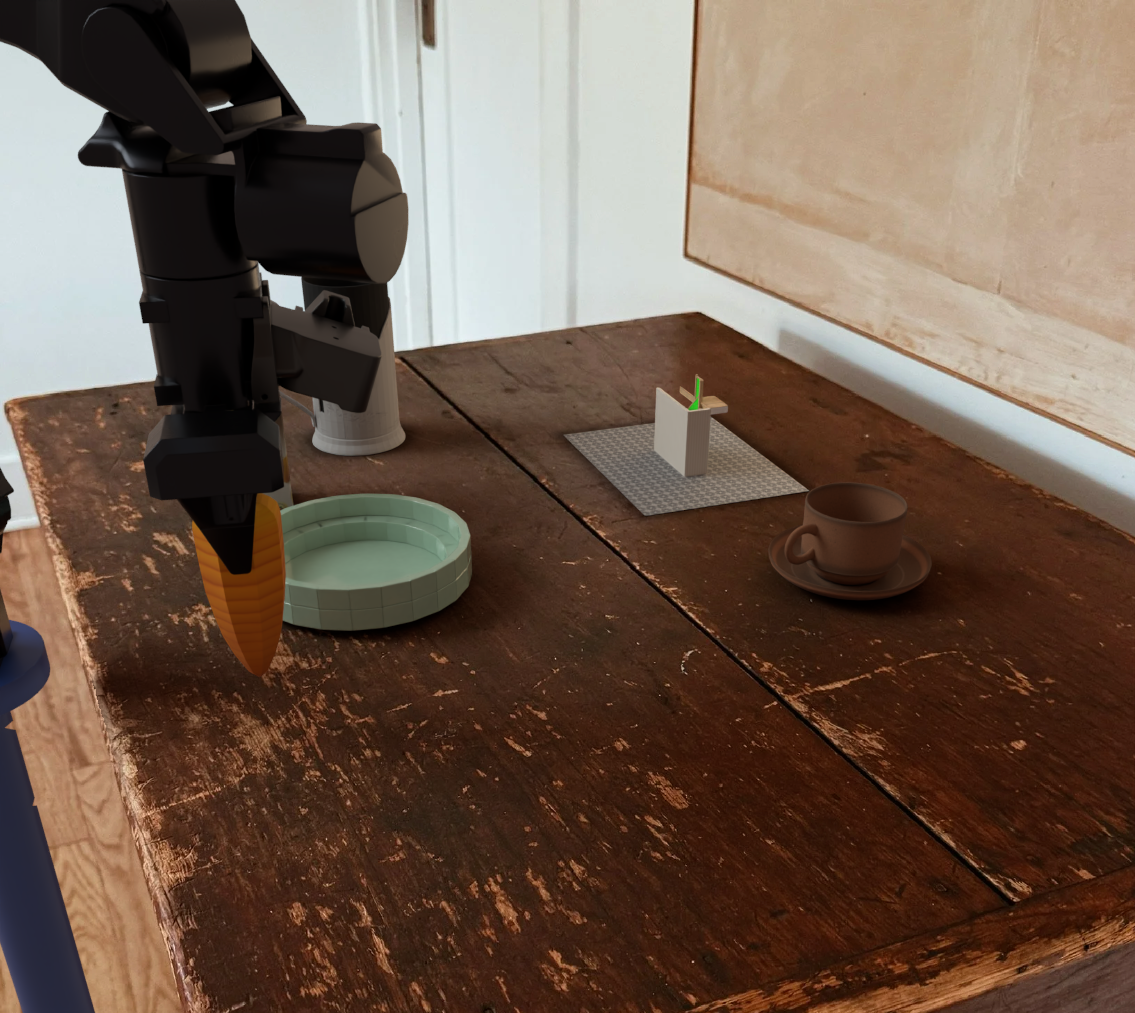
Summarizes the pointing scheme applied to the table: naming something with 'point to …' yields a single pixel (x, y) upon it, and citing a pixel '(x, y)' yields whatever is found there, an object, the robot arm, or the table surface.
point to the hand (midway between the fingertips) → (242, 553)
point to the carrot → (249, 590)
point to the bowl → (372, 560)
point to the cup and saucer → (851, 545)
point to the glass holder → (382, 415)
